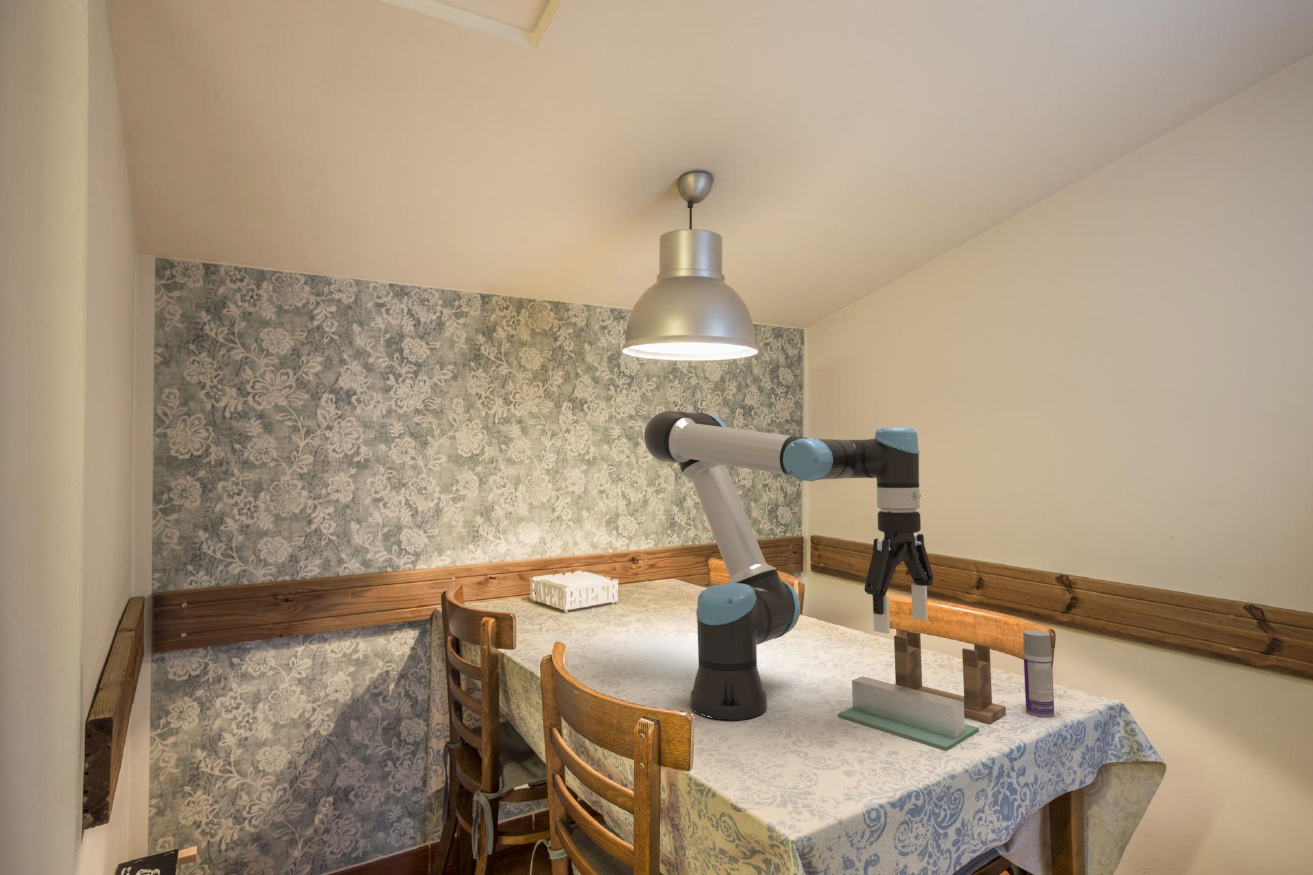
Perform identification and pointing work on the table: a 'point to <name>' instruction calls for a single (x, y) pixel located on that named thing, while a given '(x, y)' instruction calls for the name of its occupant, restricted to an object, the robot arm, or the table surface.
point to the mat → (906, 729)
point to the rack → (973, 677)
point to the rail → (909, 706)
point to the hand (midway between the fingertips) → (901, 625)
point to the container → (1038, 673)
